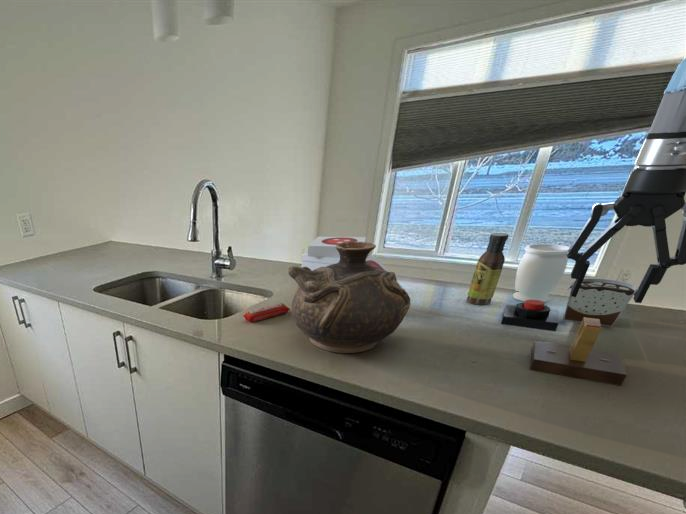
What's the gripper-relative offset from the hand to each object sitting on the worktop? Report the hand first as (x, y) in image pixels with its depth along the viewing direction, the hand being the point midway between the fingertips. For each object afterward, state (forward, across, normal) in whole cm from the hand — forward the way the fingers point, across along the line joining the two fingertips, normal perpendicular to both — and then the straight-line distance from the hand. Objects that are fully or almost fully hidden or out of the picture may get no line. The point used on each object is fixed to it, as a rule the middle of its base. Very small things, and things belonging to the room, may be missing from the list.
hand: (604, 297), depth 79 cm
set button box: (+15, -8, +25) cm, 30 cm away
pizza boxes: (+16, -55, +24) cm, 62 cm away
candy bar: (+16, -71, -1) cm, 73 cm away
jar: (+16, -8, +45) cm, 48 cm away
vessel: (+16, -46, -8) cm, 49 cm away
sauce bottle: (+16, -20, +36) cm, 44 cm away
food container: (+16, +4, +32) cm, 36 cm away
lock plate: (+15, 0, 0) cm, 15 cm away
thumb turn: (+13, 0, 0) cm, 13 cm away
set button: (+12, -8, +25) cm, 29 cm away
